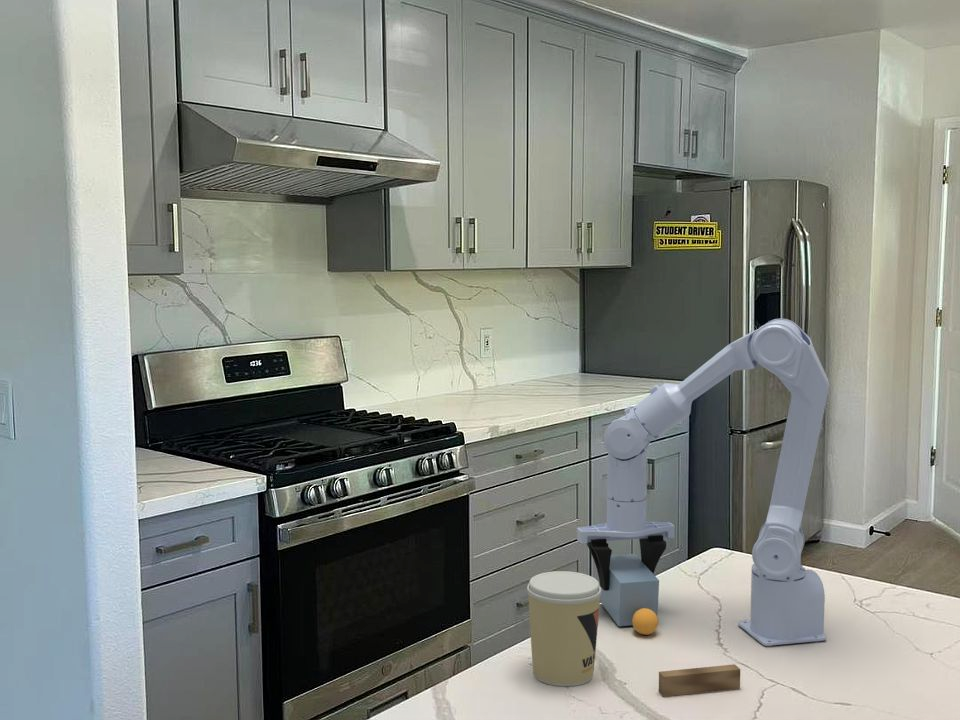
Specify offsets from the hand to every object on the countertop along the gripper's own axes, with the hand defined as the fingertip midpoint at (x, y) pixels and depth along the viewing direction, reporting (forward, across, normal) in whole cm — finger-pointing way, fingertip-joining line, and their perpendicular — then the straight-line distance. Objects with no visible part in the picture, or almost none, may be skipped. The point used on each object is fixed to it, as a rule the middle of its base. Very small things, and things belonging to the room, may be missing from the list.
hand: (625, 586), depth 141 cm
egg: (+2, 0, +8) cm, 8 cm away
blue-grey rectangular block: (+3, 0, 0) cm, 3 cm away
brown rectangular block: (+4, 0, +26) cm, 26 cm away
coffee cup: (+4, +15, +18) cm, 24 cm away
